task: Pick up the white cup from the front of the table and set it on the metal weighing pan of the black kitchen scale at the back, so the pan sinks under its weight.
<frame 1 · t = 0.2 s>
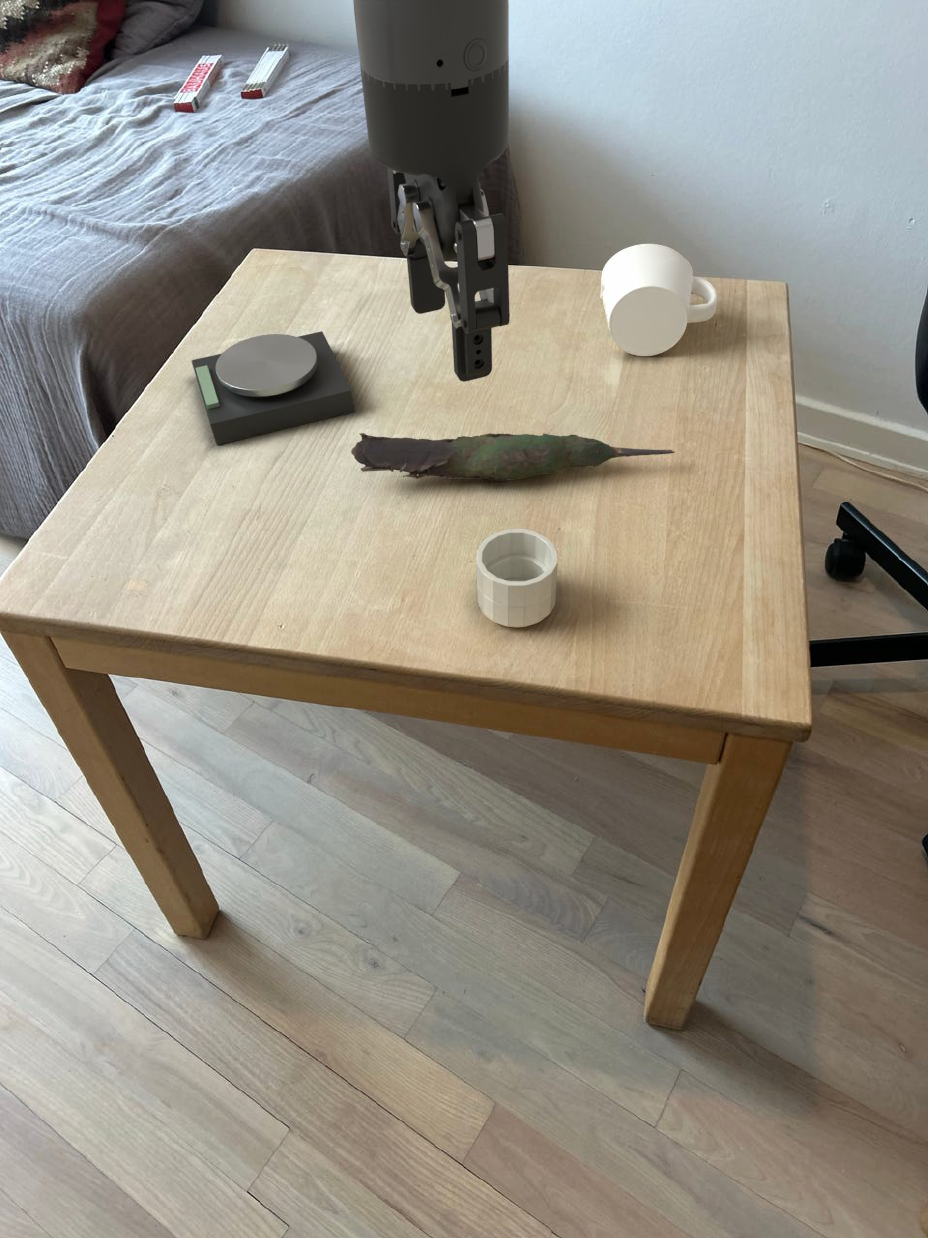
hand: (450, 341, 56), 22 cm above the table, tool pointing down, fingers open, 8 cm apart
white cup: (516, 602, 70), on the table
mug: (653, 334, 96), on the table
pan: (267, 364, 88), point 4 cm above the table, slide at 0.0 cm
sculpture: (514, 474, 81), on the table
scale: (274, 395, 90), on the table
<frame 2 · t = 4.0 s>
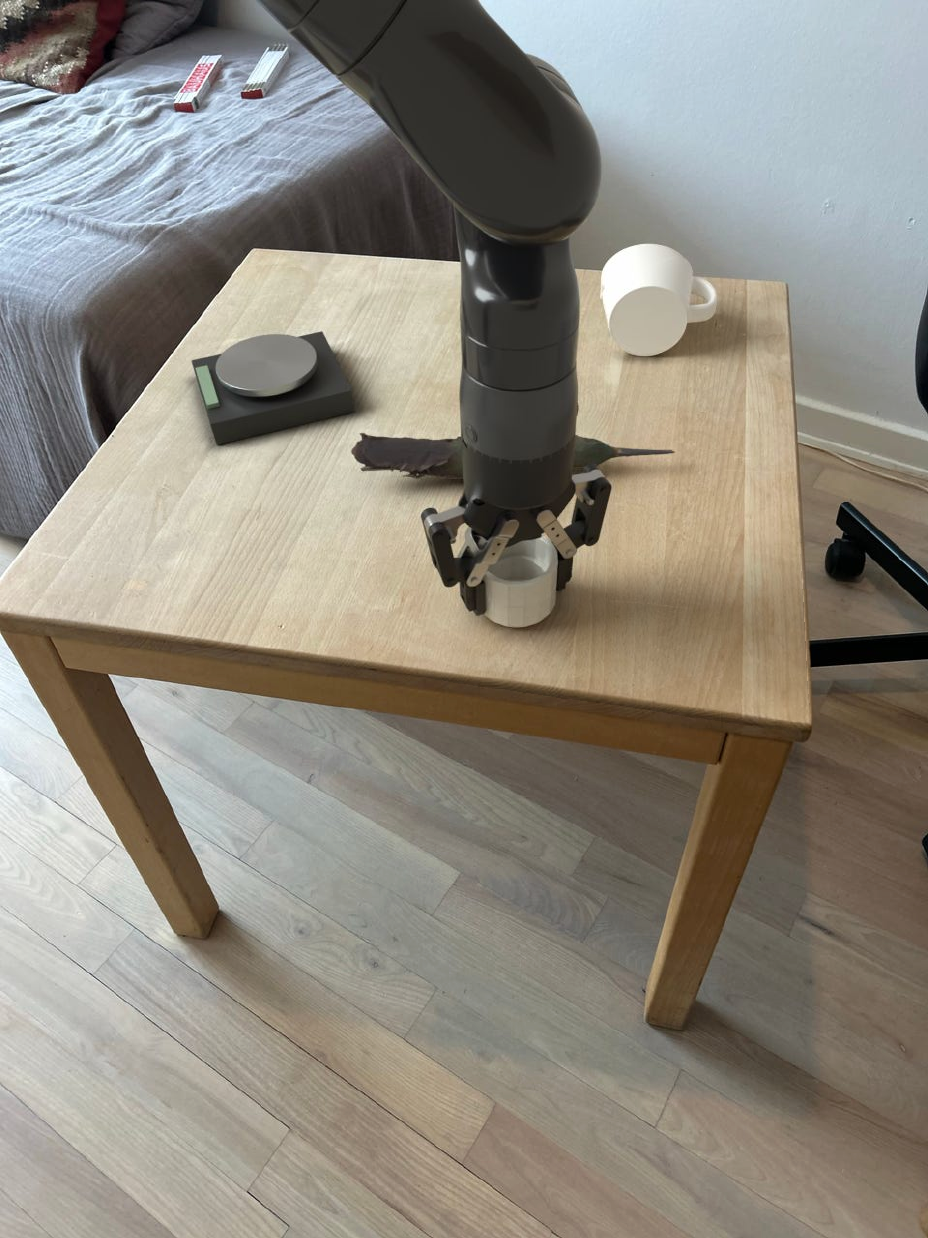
hand: (516, 595, 69), 1 cm above the table, tool pointing down, fingers closed on white cup, 6 cm apart
white cup: (516, 602, 70), on the table, touching gripper
everything else where it was.
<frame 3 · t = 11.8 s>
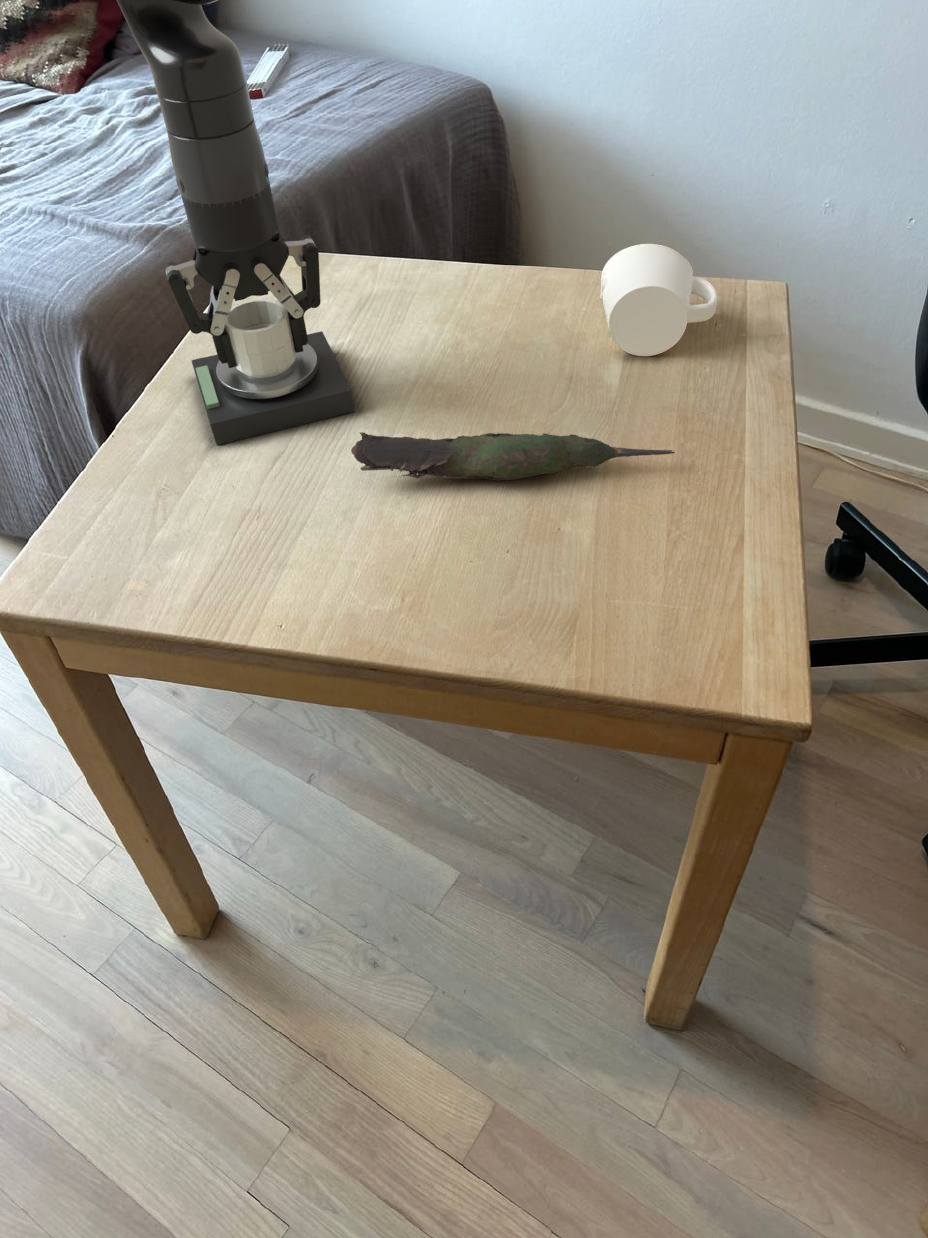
hand: (264, 355, 87), 5 cm above the table, tool pointing down, fingers closed on white cup, 6 cm apart
white cup: (266, 362, 87), point 4 cm above the table, touching gripper, pan
pan: (267, 366, 88), point 3 cm above the table, slide at -0.3 cm, touching white cup
everything else where it was.
when the fingers open (5 cm above the table, at t = 11.9 s): white cup stays where it is, resting on pan.
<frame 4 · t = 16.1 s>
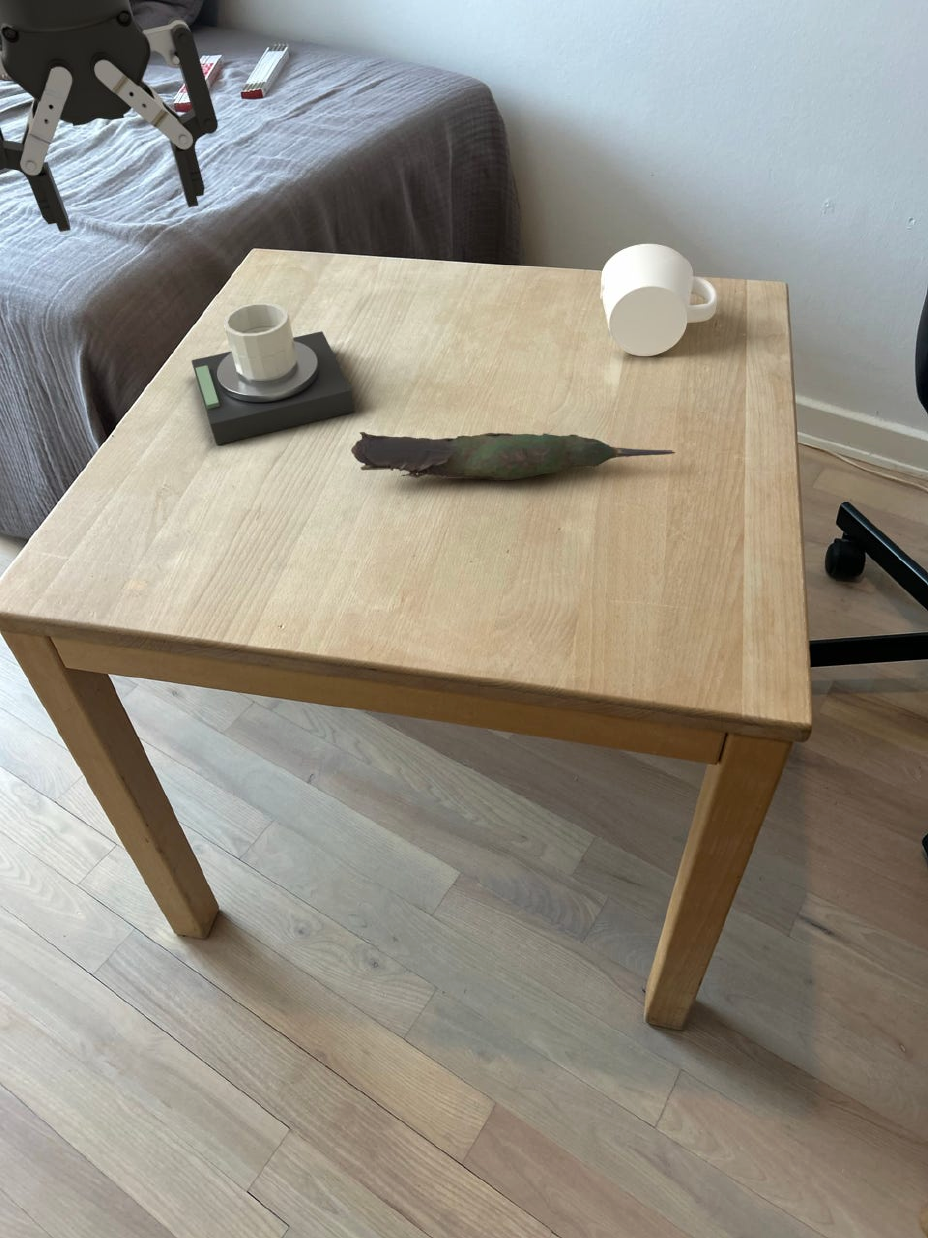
hand: (129, 214, 60), 26 cm above the table, tool pointing down, fingers open, 8 cm apart
white cup: (267, 366, 88), point 3 cm above the table, touching pan
pan: (268, 369, 88), point 3 cm above the table, slide at -0.6 cm, touching white cup
everything else where it was.
at the end: white cup inside the target area on the scale (0.0 cm from its centre), point 3.5 cm above the scale's base; white cup tilted 0°; pan slide at -0.6 cm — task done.
